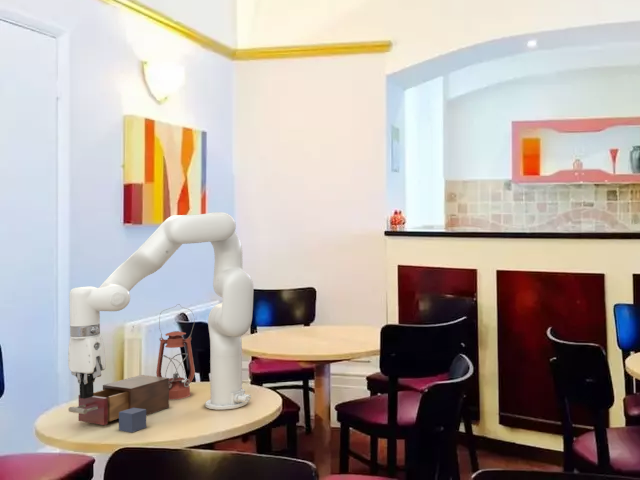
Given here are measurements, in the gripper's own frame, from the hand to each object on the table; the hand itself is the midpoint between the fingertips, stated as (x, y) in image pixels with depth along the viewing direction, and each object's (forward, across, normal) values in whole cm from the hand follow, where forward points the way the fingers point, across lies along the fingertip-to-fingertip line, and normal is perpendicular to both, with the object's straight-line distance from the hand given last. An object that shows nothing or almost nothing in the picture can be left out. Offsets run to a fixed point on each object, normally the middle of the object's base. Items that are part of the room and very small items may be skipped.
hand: (86, 397), depth 191 cm
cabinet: (+9, 0, -17) cm, 20 cm away
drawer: (+8, 0, -6) cm, 10 cm away
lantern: (+9, +3, -36) cm, 38 cm away
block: (+9, -13, -4) cm, 16 cm away
